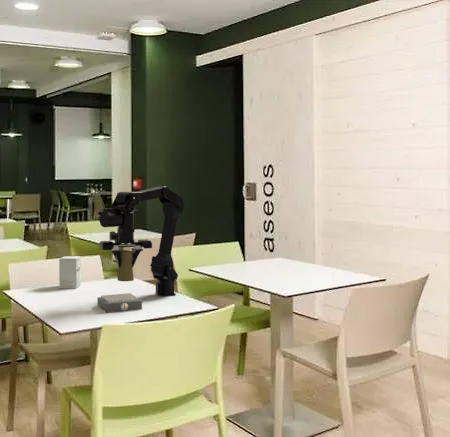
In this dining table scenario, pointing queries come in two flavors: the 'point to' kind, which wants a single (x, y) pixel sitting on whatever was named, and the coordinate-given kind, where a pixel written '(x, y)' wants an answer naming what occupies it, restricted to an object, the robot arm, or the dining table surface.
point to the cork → (126, 266)
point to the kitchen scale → (119, 302)
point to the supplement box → (69, 272)
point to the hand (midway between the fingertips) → (125, 267)
